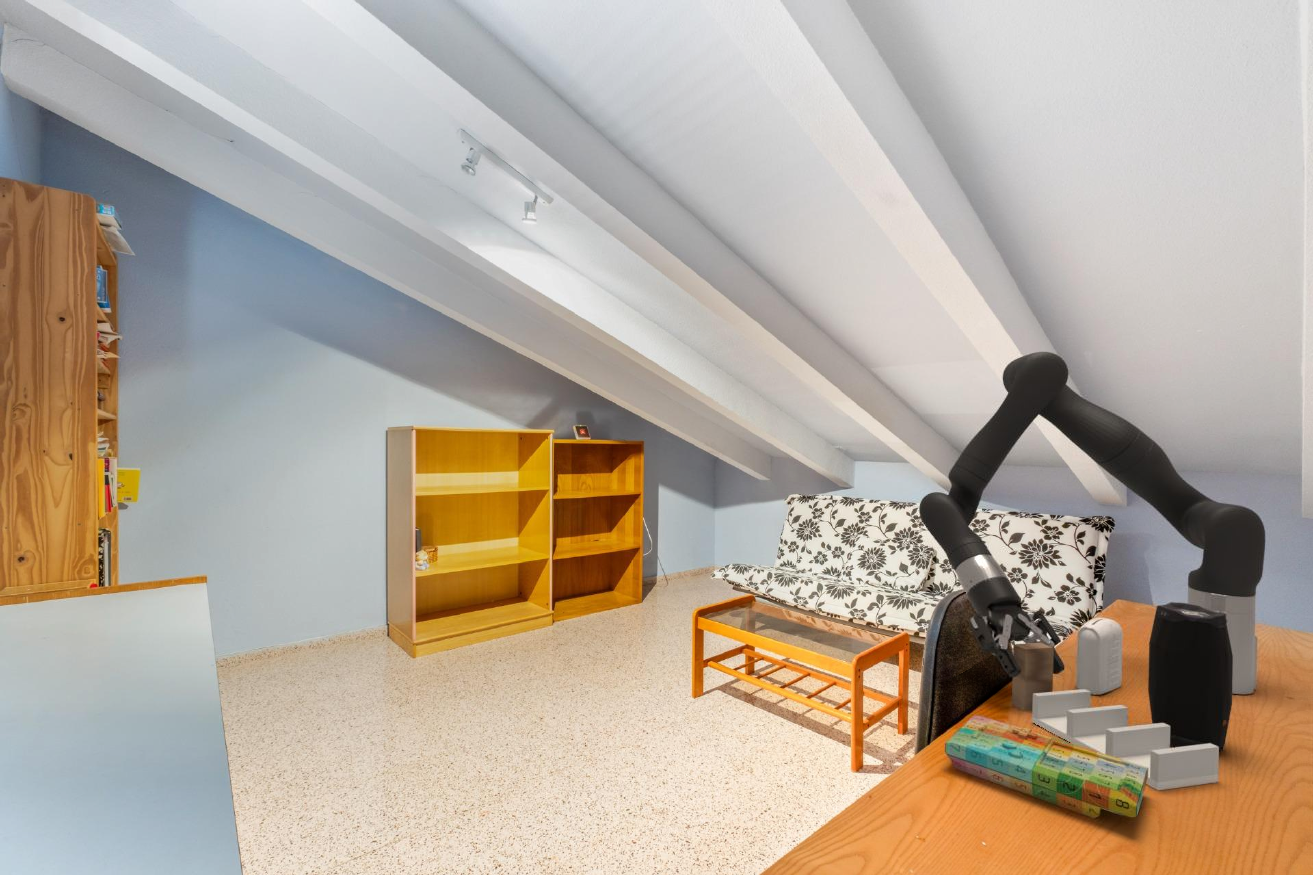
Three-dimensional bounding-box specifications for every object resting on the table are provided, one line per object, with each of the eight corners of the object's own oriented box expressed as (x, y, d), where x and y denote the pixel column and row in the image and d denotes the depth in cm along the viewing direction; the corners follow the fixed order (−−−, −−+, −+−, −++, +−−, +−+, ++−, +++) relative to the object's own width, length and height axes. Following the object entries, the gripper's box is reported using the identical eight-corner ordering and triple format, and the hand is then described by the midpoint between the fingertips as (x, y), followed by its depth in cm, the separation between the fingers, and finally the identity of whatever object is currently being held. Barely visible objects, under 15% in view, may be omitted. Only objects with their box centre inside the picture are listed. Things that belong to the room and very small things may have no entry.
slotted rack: (1084, 717, 99) (1084, 689, 99) (1218, 782, 80) (1218, 747, 80) (1032, 722, 96) (1032, 693, 96) (1157, 790, 78) (1158, 754, 78)
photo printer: (1097, 678, 116) (1099, 612, 116) (1125, 686, 113) (1126, 617, 113) (1072, 689, 110) (1073, 619, 110) (1099, 698, 107) (1101, 626, 107)
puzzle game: (973, 709, 90) (1148, 760, 77) (972, 741, 90) (1147, 798, 77) (945, 735, 82) (1137, 798, 68) (944, 771, 82) (1136, 841, 68)
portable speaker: (1246, 758, 87) (1250, 617, 87) (1178, 756, 87) (1182, 615, 87) (1194, 729, 95) (1198, 601, 96) (1132, 727, 96) (1136, 599, 96)
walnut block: (1039, 702, 104) (1040, 642, 104) (1052, 708, 102) (1053, 647, 102) (1012, 705, 103) (1013, 644, 103) (1024, 711, 101) (1025, 649, 101)
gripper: (964, 575, 108) (1015, 665, 97) (1032, 573, 112) (1089, 660, 101) (942, 598, 113) (988, 686, 102) (1007, 596, 117) (1059, 681, 106)
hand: (1038, 673), depth 101 cm, fingers open, 8 cm apart
